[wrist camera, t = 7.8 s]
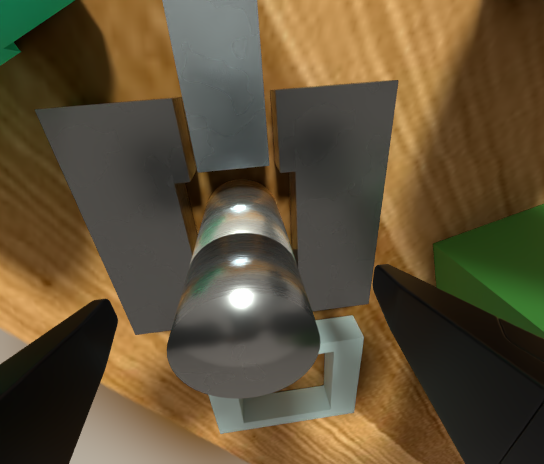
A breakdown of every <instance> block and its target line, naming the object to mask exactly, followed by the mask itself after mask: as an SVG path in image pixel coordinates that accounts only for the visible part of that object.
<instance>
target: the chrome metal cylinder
mask: <svg viewBox="0 0 544 464" xmlns="http://www.w3.org/2000/svg"><path fill="white" fill-rule="evenodd" d="M319 350H320V334H319V330H318V327H317V324H316V321H315V318H314V315H313V312H312V309H311V306H310V303H309V300H308V297H307V294H306V291H305V288H304V285H303V282H302V279H301V275H300V272H299V269H298V266H297V263H296V260H295V257H294V254H293V251H292V248H291V245H290V242H289V239H288V236H287V233H286V230H285V227H284V224H283V221H282V218H281V215H280V212H279V209H278V206H277V203H276V200H275V198H274V196H273V195H272V193H271V192H270V191H269V190H268V189H267V188H266V187H264V186H263V185H262V184H260V183H258V182H255V181H252V180H247V179H237V180H232V181H228V182H226V183H224V184H222V185H221V186H219V187H218V188H217V189H216V190H215V191H214V192H213V193H212V194H211V196H210V198H209V200H208V202H207V206H206V209H205V213H204V216H203V220H202V223H201V227H200V230H199V234H198V237H197V241H196V245H195V248H194V252H193V255H192V259H191V262H190V266H189V269H188V273H187V276H186V280H185V283H184V287H183V290H182V294H181V298H180V301H179V305H178V308H177V312H176V315H175V319H174V322H173V326H172V329H171V333H170V336H169V340H168V344H167V358H168V361H169V364H170V366H171V368H172V370H173V372H174V373H175V374H176V376H177V377H178V378H179V379H180V380H181V381H183V382H184V383H185V384H187V385H188V386H190V387H191V388H193V389H195V390H197V391H200V392H202V393H205V394H208V395H211V396H216V397H222V398H234V399H239V398H252V397H258V396H263V395H267V394H271V393H273V392H276V391H279V390H281V389H283V388H285V387H287V386H289V385H291V384H293V383H294V382H296V381H297V380H298V379H300V378H301V377H302V376H303V375H304V374H306V372H307V371H308V370H309V369H310V368H311V367H312V365H313V364H314V362H315V360H316V358H317V356H318V353H319Z"/></svg>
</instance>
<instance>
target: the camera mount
mask: <svg viewBox="0 0 544 464" xmlns="http://www.w3.org/2000/svg"><path fill="white" fill-rule="evenodd" d="M73 1H75V0H0V66H1V65H2V64H4V63H5V62H7V61H8V60H10V59H11V58H13V57H14V56H16V55H17V54H19V53H20V52H21V51H20V50H19V49H18V47H17V46H16V45H15V44H14V41H16V40H17V39H19V38H20V37H22V36H23V35H25V34H26V33H27V32H29V31H30V30H32V29H33V28H35V27H36V26H38V25H39V24H41V23H42V22H44V21H45V20H47V19H48V18H50V17H51V16H53V15H54V14H56V13H57V12H59V11H60V10H62V9H63V8H64V7H66V6H67V5H69V4H70V3H72V2H73Z"/></svg>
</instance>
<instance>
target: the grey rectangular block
mask: <svg viewBox="0 0 544 464" xmlns="http://www.w3.org/2000/svg"><path fill="white" fill-rule="evenodd" d="M162 1H163V5H164V10H165V15H166V20H167V25H168V30H169V35H170V40H171V44H172V49H173V54H174V59H175V64H176V69H177V74H178V79H179V83H180V88H181V93H182V98H183V103H184V108H185V113H186V118H187V122H188V127H189V132H190V137H191V142H192V147H193V152H194V157H195V161H196V166H197V171H198V173H199V172H209V171H219V170H229V169H240V168H250V167H260V166H269V154H268V141H267V128H266V114H265V101H264V88H263V74H262V61H261V48H260V35H259V21H258V8H257V0H162Z"/></svg>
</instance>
